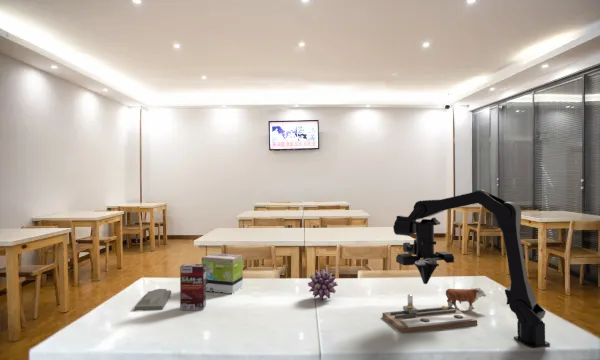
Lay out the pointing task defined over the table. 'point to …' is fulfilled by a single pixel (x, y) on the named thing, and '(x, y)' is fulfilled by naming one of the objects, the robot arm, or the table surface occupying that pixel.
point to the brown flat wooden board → (429, 319)
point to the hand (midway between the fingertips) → (425, 283)
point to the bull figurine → (464, 296)
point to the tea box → (223, 272)
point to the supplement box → (192, 286)
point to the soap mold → (154, 300)
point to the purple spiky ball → (322, 284)
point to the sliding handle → (410, 305)
